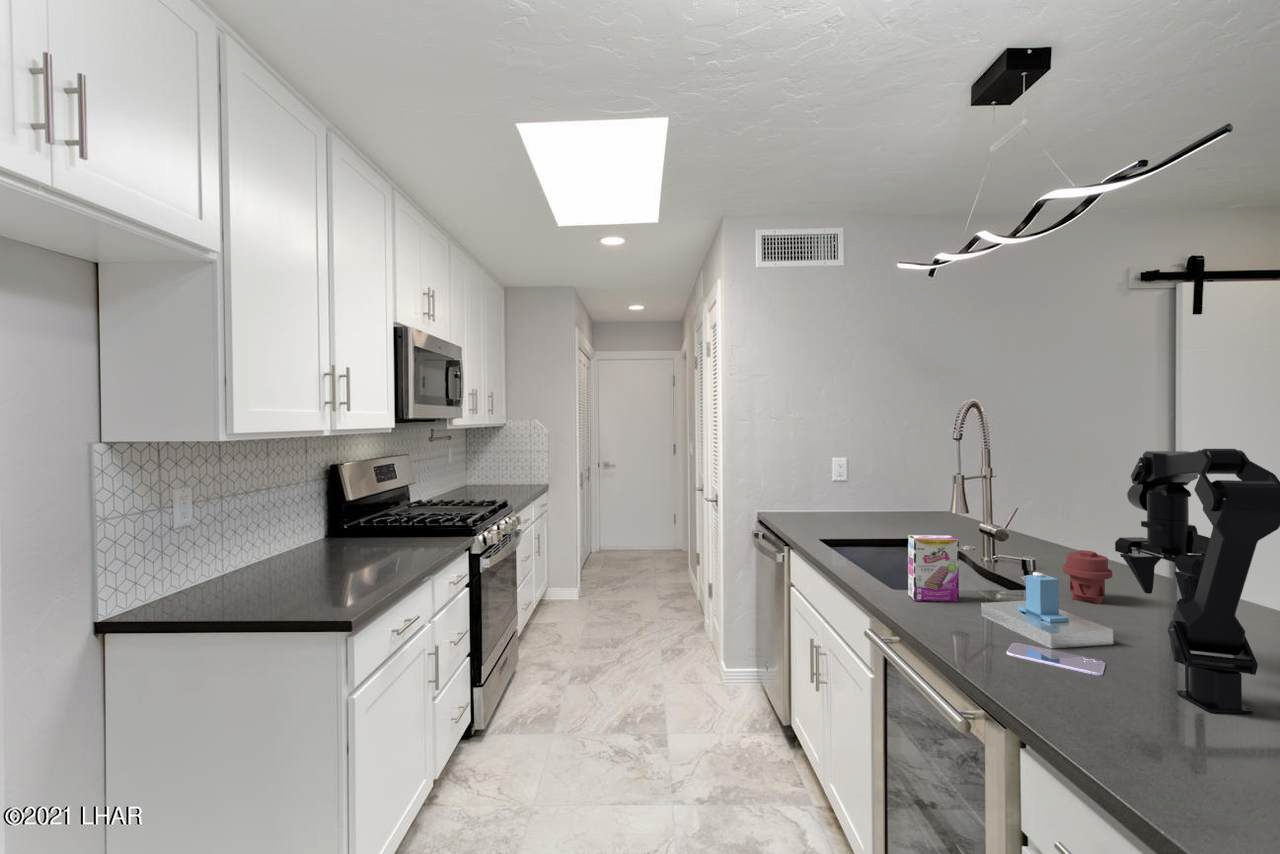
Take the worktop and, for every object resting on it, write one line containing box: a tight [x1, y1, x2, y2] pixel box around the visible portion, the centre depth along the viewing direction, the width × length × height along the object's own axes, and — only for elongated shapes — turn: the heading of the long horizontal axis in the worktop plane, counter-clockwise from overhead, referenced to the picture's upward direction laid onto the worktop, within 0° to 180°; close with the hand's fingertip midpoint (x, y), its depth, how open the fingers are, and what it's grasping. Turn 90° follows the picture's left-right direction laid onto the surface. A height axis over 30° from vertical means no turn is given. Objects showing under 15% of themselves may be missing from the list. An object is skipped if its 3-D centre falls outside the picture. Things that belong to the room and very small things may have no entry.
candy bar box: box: [907, 534, 960, 603], centre depth 148 cm, size 11×5×16 cm, turn 84°
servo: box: [1018, 571, 1069, 623], centre depth 126 cm, size 9×4×12 cm, turn 7°
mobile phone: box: [1006, 642, 1106, 676], centre depth 111 cm, size 8×1×15 cm
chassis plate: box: [980, 600, 1114, 650], centre depth 126 cm, size 20×14×3 cm
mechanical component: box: [1062, 549, 1113, 605], centre depth 146 cm, size 12×10×10 cm
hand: (1168, 600), depth 107 cm, fingers open, 9 cm apart
